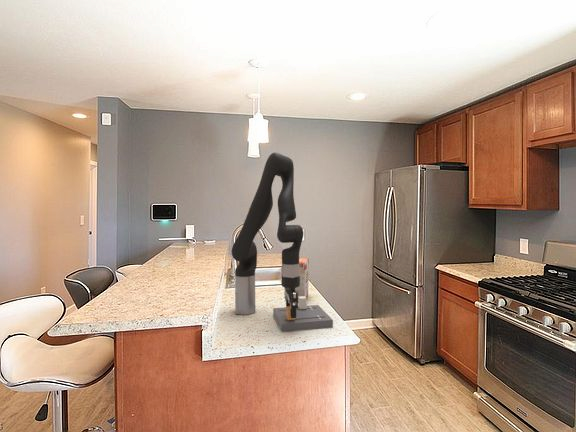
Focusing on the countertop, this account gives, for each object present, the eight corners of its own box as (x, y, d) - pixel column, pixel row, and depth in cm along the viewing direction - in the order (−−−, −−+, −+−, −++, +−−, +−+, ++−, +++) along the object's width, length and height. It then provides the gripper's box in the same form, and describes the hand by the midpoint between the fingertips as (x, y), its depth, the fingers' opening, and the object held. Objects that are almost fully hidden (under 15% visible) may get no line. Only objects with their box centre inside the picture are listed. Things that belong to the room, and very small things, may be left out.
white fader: (300, 309, 142) (299, 298, 141) (298, 307, 144) (298, 296, 144) (306, 308, 142) (306, 298, 142) (304, 306, 145) (304, 296, 145)
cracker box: (305, 304, 160) (305, 262, 159) (293, 303, 161) (293, 262, 160) (309, 296, 173) (309, 257, 173) (298, 295, 175) (298, 257, 174)
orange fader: (287, 320, 128) (287, 308, 128) (286, 317, 131) (286, 306, 131) (295, 319, 129) (295, 307, 129) (293, 317, 132) (293, 305, 132)
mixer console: (281, 331, 125) (281, 323, 125) (273, 314, 145) (273, 307, 145) (332, 327, 130) (332, 319, 129) (318, 311, 149) (318, 304, 149)
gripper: (278, 271, 136) (278, 309, 136) (285, 278, 122) (285, 321, 122) (295, 270, 137) (295, 308, 138) (304, 277, 123) (304, 319, 124)
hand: (291, 314), depth 130 cm, fingers open, 8 cm apart
